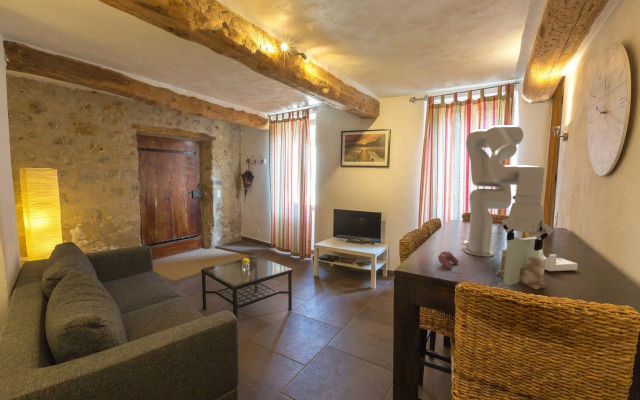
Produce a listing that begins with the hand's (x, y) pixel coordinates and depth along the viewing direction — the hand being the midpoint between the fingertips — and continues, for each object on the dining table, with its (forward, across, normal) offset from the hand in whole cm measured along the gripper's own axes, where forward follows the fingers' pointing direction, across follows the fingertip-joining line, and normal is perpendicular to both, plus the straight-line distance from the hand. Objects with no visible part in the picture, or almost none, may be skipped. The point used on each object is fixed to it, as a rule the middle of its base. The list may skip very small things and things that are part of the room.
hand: (523, 246), depth 106 cm
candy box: (+14, -19, +39) cm, 45 cm away
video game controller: (+14, -23, -12) cm, 29 cm away
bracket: (+14, -2, +27) cm, 30 cm away
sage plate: (+13, 0, 0) cm, 13 cm away
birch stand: (+13, 0, 0) cm, 13 cm away
